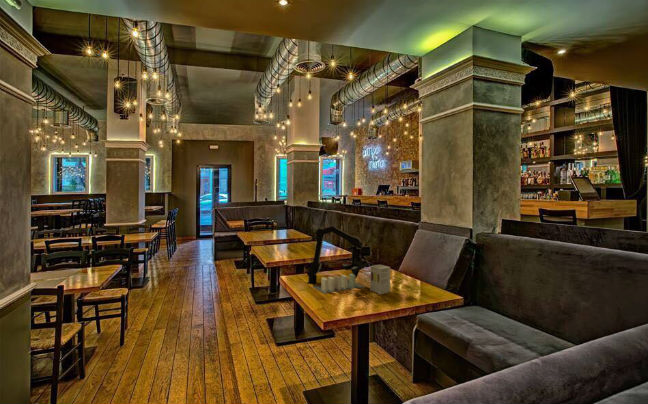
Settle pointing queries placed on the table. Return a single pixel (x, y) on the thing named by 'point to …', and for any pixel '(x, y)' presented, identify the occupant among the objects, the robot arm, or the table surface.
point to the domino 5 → (352, 280)
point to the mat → (337, 289)
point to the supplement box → (380, 279)
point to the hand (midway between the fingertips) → (355, 278)
